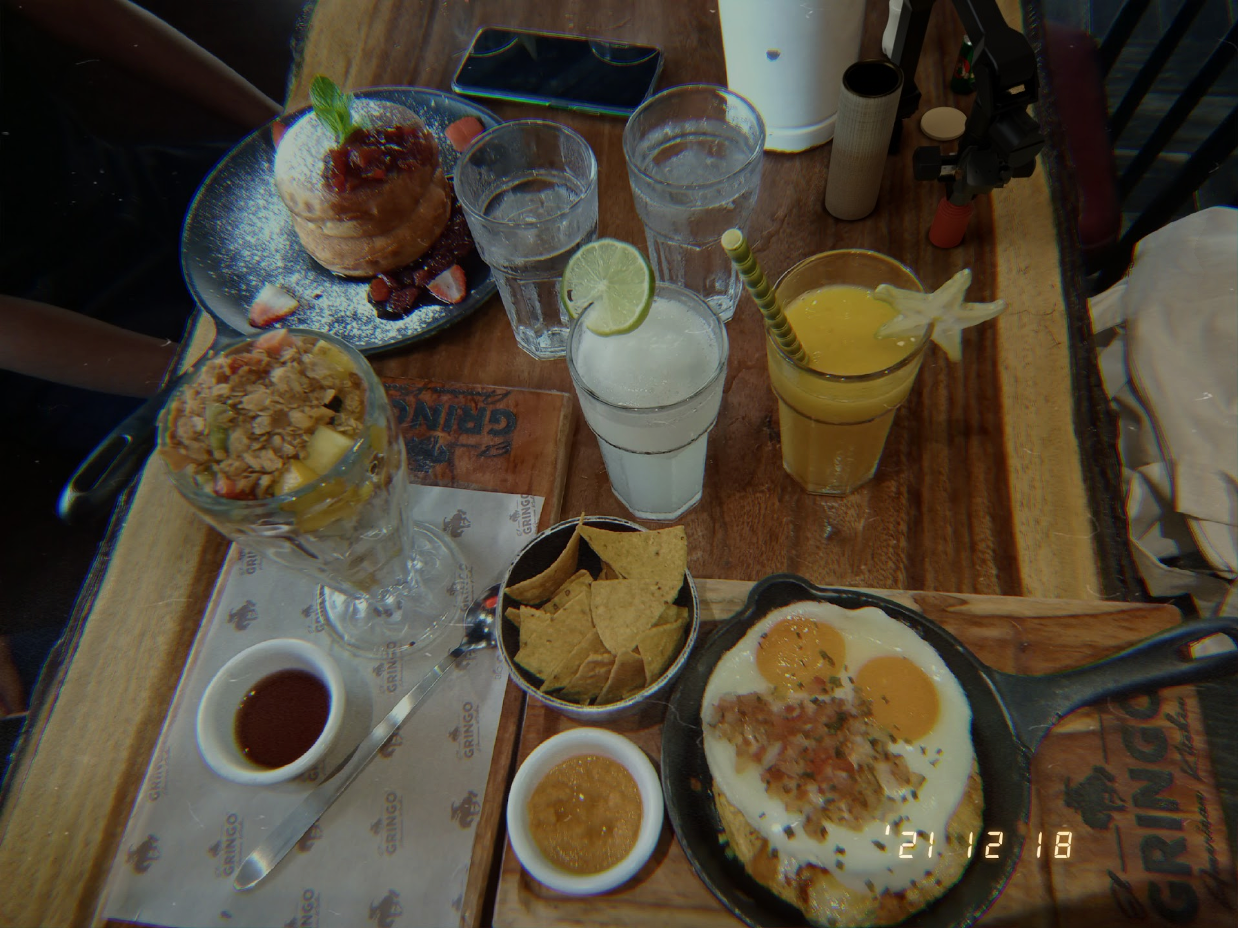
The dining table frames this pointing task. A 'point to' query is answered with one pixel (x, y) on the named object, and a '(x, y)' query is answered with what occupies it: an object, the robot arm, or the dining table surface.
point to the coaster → (943, 123)
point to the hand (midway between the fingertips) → (959, 199)
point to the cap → (959, 194)
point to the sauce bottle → (950, 223)
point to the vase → (862, 136)
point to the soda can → (963, 68)
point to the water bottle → (891, 26)
